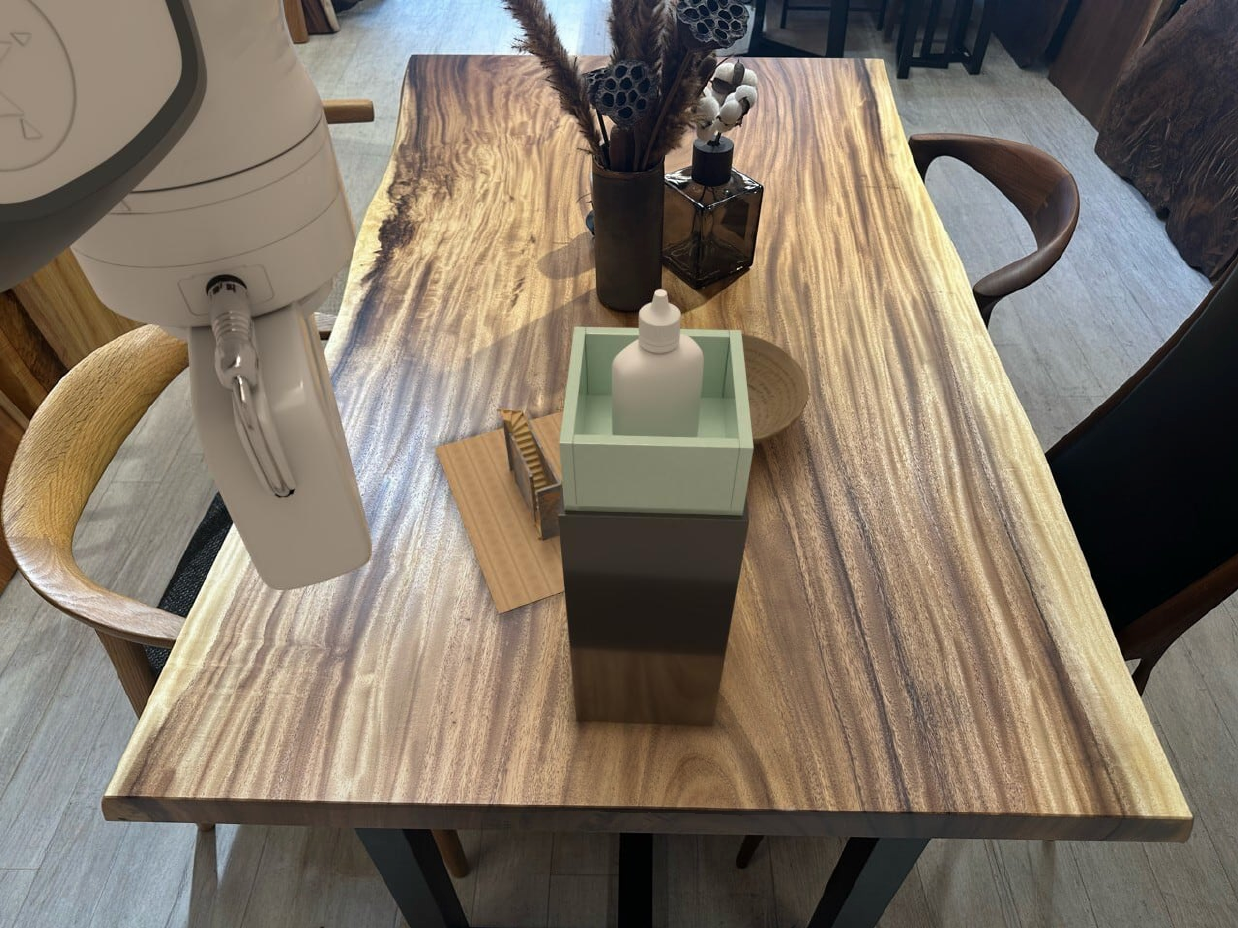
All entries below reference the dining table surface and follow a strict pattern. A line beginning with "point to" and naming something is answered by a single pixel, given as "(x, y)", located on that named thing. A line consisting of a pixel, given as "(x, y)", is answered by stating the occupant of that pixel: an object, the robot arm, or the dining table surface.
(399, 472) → the dining table surface
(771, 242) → the dining table surface
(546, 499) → the ruin model on sheet
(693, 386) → the eye dropper bottle
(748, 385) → the bowl
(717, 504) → the square pedestal with tray
